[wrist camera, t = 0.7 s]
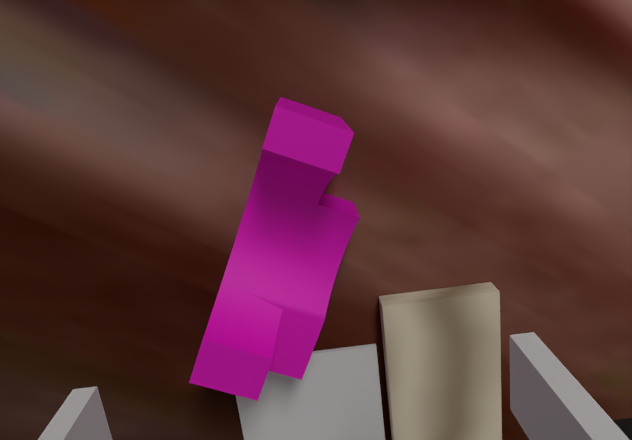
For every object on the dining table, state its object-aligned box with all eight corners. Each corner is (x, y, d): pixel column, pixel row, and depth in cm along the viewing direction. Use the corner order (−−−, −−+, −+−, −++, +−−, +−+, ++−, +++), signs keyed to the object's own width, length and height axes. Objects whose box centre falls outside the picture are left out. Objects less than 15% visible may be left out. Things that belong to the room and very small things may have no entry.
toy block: (301, 341, 34) (302, 412, 27) (212, 315, 34) (189, 382, 26) (379, 130, 31) (404, 150, 23) (280, 96, 30) (275, 105, 23)
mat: (258, 510, 38) (258, 514, 38) (230, 361, 34) (229, 364, 34) (390, 494, 38) (390, 497, 38) (375, 343, 34) (376, 345, 34)
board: (395, 477, 38) (399, 493, 36) (378, 296, 33) (382, 306, 32) (494, 465, 38) (502, 481, 36) (490, 282, 33) (499, 291, 32)
